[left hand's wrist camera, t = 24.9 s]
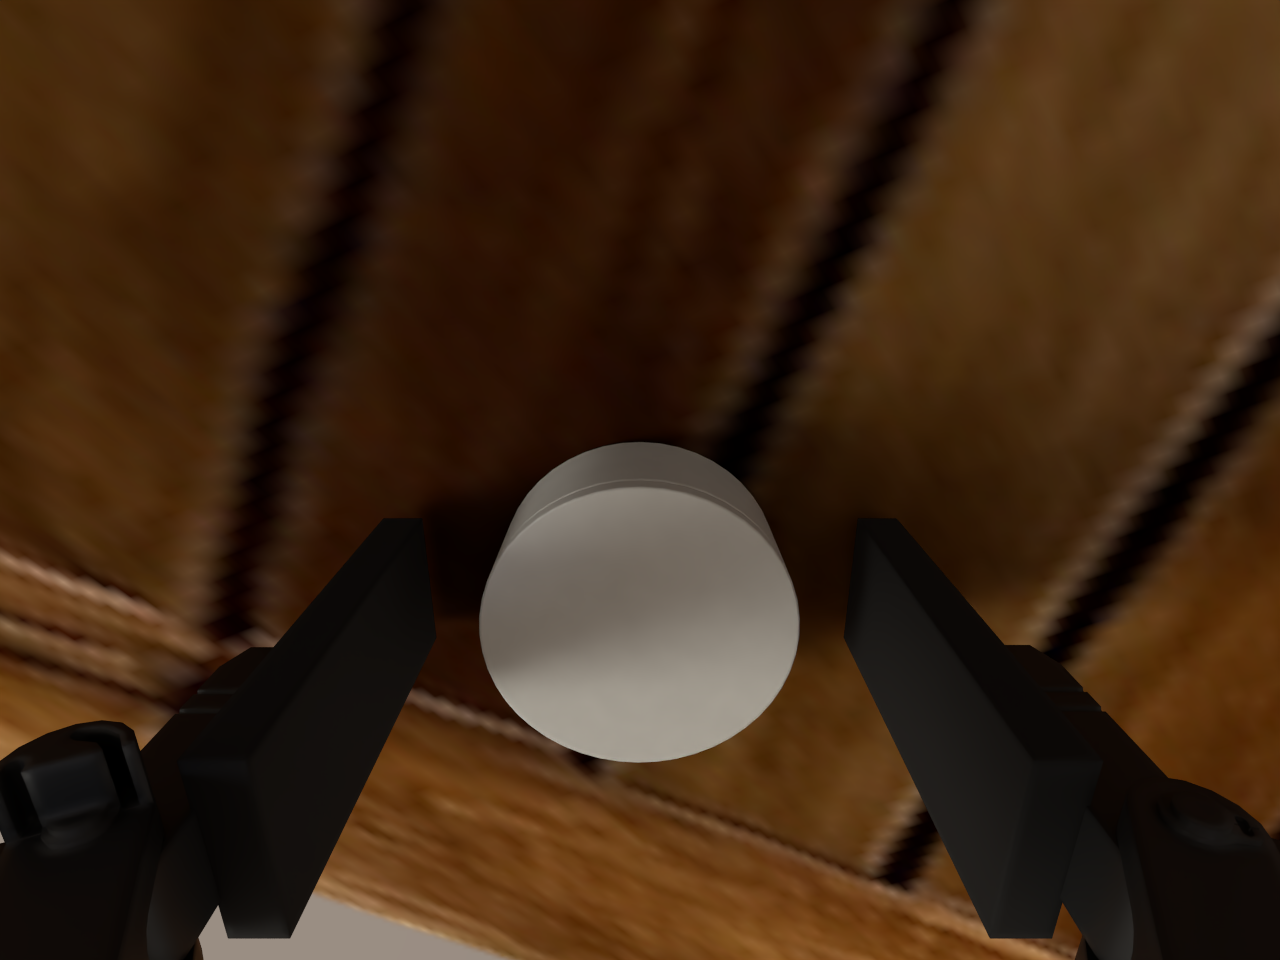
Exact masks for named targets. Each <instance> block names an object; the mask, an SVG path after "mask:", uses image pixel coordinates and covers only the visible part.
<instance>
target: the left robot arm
mask: <svg viewBox="0 0 1280 960" xmlns="http://www.w3.org/2000/svg"><path fill="white" fill-rule="evenodd" d="M435 639H436V631H435V623H434V614H433V606H432V598H431V589H430V581H429V572H428V564H427V555H426V547H425V539H424V530H423V522H422V518H384V519H383V520H382V521H381V522H380V523H379V524H378V526H377V527H376V528H375V529H374V530H373V531H372V533H371V534H370V535H369V536H368V537H367V538H366V540H365V541H364V542H363V543H362V544H361V545H360V547H359V548H358V549H357V550H356V551H355V553H354V554H353V555H352V556H351V557H350V558H349V560H348V561H347V562H346V563H345V564H344V565H343V567H342V568H341V569H340V570H339V571H338V572H337V574H336V575H335V576H334V577H333V578H332V579H331V581H330V582H329V583H328V584H327V585H326V586H325V588H324V589H323V590H322V591H321V592H320V593H319V595H318V596H317V597H316V598H315V599H314V600H313V602H312V603H311V604H310V605H309V606H308V608H307V609H306V610H305V611H304V612H303V613H302V615H301V616H300V617H299V618H298V619H297V620H296V622H295V623H294V624H293V625H292V626H291V627H290V629H289V630H288V631H287V632H286V633H285V634H284V636H283V637H282V638H281V639H280V640H279V641H278V643H277V644H276V645H275V646H274V647H251V648H249V649H247V650H246V651H244V652H243V653H241V654H239V655H238V656H236V657H235V658H233V659H231V660H230V661H228V662H227V663H225V664H223V665H222V666H220V667H219V668H218V669H217V670H216V671H215V672H214V673H213V674H212V675H211V676H210V677H209V679H208V680H207V681H206V682H205V683H204V684H203V685H202V686H201V687H200V688H199V689H198V693H197V695H193V696H192V697H191V698H190V699H189V700H188V701H187V702H186V703H185V704H184V705H183V706H182V707H181V708H180V713H179V714H175V715H174V716H173V717H172V718H171V719H170V720H169V721H168V722H167V723H166V724H165V725H164V727H163V728H162V729H161V730H160V731H159V732H158V733H157V734H156V735H155V736H154V737H153V738H152V739H151V740H150V741H149V743H148V744H147V745H146V746H145V747H144V748H143V749H142V750H141V751H140V749H139V746H138V743H137V739H136V736H135V733H134V730H132V729H131V728H129V727H128V726H126V725H125V724H124V723H121V722H112V721H103V720H101V721H94V722H87V723H80V724H75V725H72V726H69V727H65V728H62V729H59V730H56V731H53V732H50V733H47V734H45V735H43V736H41V737H39V738H37V739H35V740H33V741H31V742H29V743H27V744H25V745H23V746H21V747H19V748H17V749H16V750H14V751H13V752H12V753H10V754H9V755H8V756H6V757H5V758H3V759H2V760H1V761H0V832H1V834H2V837H3V839H4V843H0V960H203V954H202V948H201V945H200V942H199V938H198V937H199V935H200V934H201V932H202V930H203V929H204V927H205V925H206V924H207V922H208V921H209V919H210V917H211V916H212V914H213V912H214V911H215V909H216V908H217V906H218V905H219V909H220V912H221V916H222V919H223V923H224V926H225V929H226V933H227V936H228V938H290V937H291V935H292V933H293V931H294V929H295V927H296V925H297V923H298V921H299V919H300V917H301V915H302V913H303V911H304V909H305V907H306V904H307V902H308V900H309V898H310V896H311V894H312V892H313V890H314V888H315V886H316V884H317V882H318V880H319V878H320V876H321V874H322V872H323V870H324V867H325V865H326V863H327V861H328V859H329V857H330V855H331V853H332V851H333V849H334V847H335V845H336V843H337V841H338V839H339V837H340V835H341V832H342V830H343V828H344V826H345V824H346V822H347V820H348V818H349V816H350V814H351V812H352V810H353V808H354V806H355V804H356V802H357V800H358V798H359V795H360V793H361V791H362V789H363V787H364V785H365V783H366V781H367V779H368V777H369V775H370V773H371V771H372V769H373V767H374V765H375V763H376V760H377V758H378V756H379V754H380V752H381V750H382V748H383V746H384V744H385V742H386V740H387V738H388V736H389V734H390V732H391V730H392V728H393V726H394V723H395V721H396V719H397V717H398V715H399V713H400V711H401V709H402V707H403V705H404V703H405V701H406V699H407V697H408V695H409V693H410V691H411V688H412V686H413V684H414V682H415V680H416V678H417V676H418V674H419V672H420V670H421V668H422V666H423V664H424V662H425V660H426V658H427V656H428V654H429V651H430V649H431V647H432V645H433V643H434V641H435ZM844 639H845V641H846V643H847V645H848V647H849V649H850V651H851V653H852V656H853V658H854V660H855V662H856V664H857V666H858V668H859V670H860V672H861V674H862V676H863V678H864V680H865V682H866V684H867V686H868V688H869V691H870V693H871V695H872V697H873V699H874V701H875V703H876V705H877V707H878V709H879V711H880V713H881V715H882V717H883V719H884V721H885V723H886V726H887V728H888V730H889V732H890V734H891V736H892V738H893V740H894V742H895V744H896V746H897V748H898V750H899V752H900V754H901V756H902V758H903V760H904V763H905V765H906V767H907V769H908V771H909V773H910V775H911V777H912V779H913V781H914V783H915V785H916V787H917V789H918V791H919V793H920V795H921V798H922V800H923V802H924V804H925V806H926V808H927V810H928V812H929V814H930V816H931V818H932V820H933V822H934V824H935V826H936V828H937V830H938V832H939V835H940V837H941V839H942V841H943V843H944V845H945V847H946V849H947V851H948V853H949V855H950V857H951V859H952V861H953V863H954V865H955V867H956V870H957V872H958V874H959V876H960V878H961V880H962V882H963V884H964V886H965V888H966V890H967V892H968V894H969V896H970V898H971V900H972V902H973V905H974V907H975V909H976V911H977V913H978V915H979V917H980V919H981V921H982V923H983V925H984V927H985V929H986V931H987V933H988V935H989V937H990V938H1052V936H1053V933H1054V929H1055V926H1056V923H1057V919H1058V916H1059V912H1060V909H1061V905H1062V902H1063V904H1064V906H1065V907H1066V909H1067V910H1068V912H1069V914H1070V915H1071V917H1072V918H1073V920H1074V922H1075V923H1076V925H1077V927H1078V928H1079V930H1080V931H1081V933H1082V938H1081V942H1080V945H1079V948H1078V951H1077V954H1076V958H1075V960H1280V840H1276V839H1273V838H1271V837H1270V836H1269V835H1268V833H1267V832H1266V830H1265V829H1264V828H1263V826H1262V825H1261V824H1260V823H1259V822H1258V821H1257V820H1255V819H1254V818H1253V817H1252V816H1251V815H1249V814H1248V813H1247V812H1246V811H1245V810H1243V809H1242V808H1241V807H1240V806H1238V805H1237V804H1235V803H1233V802H1231V801H1230V800H1228V799H1226V798H1224V797H1222V796H1221V795H1219V794H1217V793H1215V792H1213V791H1212V790H1209V789H1206V788H1203V787H1200V786H1198V785H1195V784H1192V783H1189V782H1187V781H1183V780H1177V779H1171V778H1168V777H1167V776H1166V775H1165V774H1164V773H1163V772H1162V771H1161V770H1160V769H1159V768H1158V767H1157V766H1156V765H1155V763H1154V762H1153V761H1152V760H1151V759H1150V758H1149V757H1148V756H1147V755H1146V754H1145V753H1144V752H1143V751H1142V750H1141V749H1140V748H1139V747H1138V745H1137V744H1136V743H1135V742H1134V741H1133V740H1132V739H1131V738H1130V737H1129V736H1128V735H1127V734H1126V733H1125V732H1124V731H1123V730H1122V729H1121V727H1120V726H1119V725H1118V724H1117V723H1116V722H1115V721H1114V720H1113V719H1112V718H1111V717H1110V716H1109V715H1108V714H1107V713H1106V712H1102V711H1101V706H1100V705H1099V704H1098V703H1097V702H1096V701H1095V700H1094V699H1093V698H1092V697H1091V696H1090V695H1089V694H1088V692H1083V687H1082V686H1081V685H1080V684H1079V683H1078V682H1077V681H1076V680H1075V679H1074V678H1073V677H1072V676H1071V674H1070V673H1069V672H1068V671H1067V670H1066V669H1065V668H1064V667H1063V666H1062V665H1061V664H1059V663H1058V662H1056V661H1055V660H1053V659H1051V658H1050V657H1048V656H1046V655H1045V654H1043V653H1042V652H1040V651H1038V650H1037V649H1035V648H1034V647H1032V646H1030V645H1004V644H1003V643H1002V641H1001V640H1000V639H999V638H998V637H997V636H996V634H995V633H994V632H993V631H992V630H991V629H990V627H989V626H988V625H987V624H986V623H985V622H984V620H983V619H982V618H981V617H980V616H979V615H978V613H977V612H976V611H975V610H974V609H973V608H972V606H971V605H970V604H969V603H968V602H967V600H966V599H965V598H964V597H963V596H962V595H961V593H960V592H959V591H958V590H957V589H956V588H955V586H954V585H953V584H952V583H951V582H950V581H949V579H948V578H947V577H946V576H945V575H944V574H943V572H942V571H941V570H940V569H939V568H938V567H937V565H936V564H935V563H934V562H933V561H932V560H931V558H930V557H929V556H928V555H927V554H926V553H925V551H924V550H923V549H922V548H921V547H920V545H919V544H918V543H917V542H916V541H915V540H914V538H913V537H912V536H911V535H910V534H909V533H908V531H907V530H906V529H905V528H904V527H903V526H902V524H901V523H900V522H899V521H898V520H897V519H896V518H858V522H857V530H856V539H855V547H854V555H853V564H852V572H851V581H850V589H849V598H848V606H847V614H846V623H845V631H844Z"/></svg>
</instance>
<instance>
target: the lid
mask: <svg viewBox="0 0 1280 960" xmlns="http://www.w3.org/2000/svg"><path fill="white" fill-rule="evenodd" d="M799 630H800V616H799V607H798V600H797V596H796V593H795V589H794V586H793V582H792V580H791V577H790V575H789V573H788V570H787V568H786V565H785V563H784V561H783V558H782V556H781V554H780V551H779V549H778V546H777V544H776V542H775V539H774V537H773V534H772V532H771V530H770V527H769V525H768V523H767V521H766V518H765V516H764V514H763V512H762V510H761V508H760V507H759V505H758V504H757V502H756V500H755V499H754V497H753V496H752V495H751V493H750V492H749V491H748V490H747V489H746V488H745V487H744V485H743V484H742V483H741V482H740V481H739V480H737V479H736V478H735V477H734V476H733V475H732V474H731V473H729V472H728V471H727V470H725V469H724V468H722V467H721V466H719V465H718V464H716V463H715V462H713V461H711V460H709V459H707V458H705V457H703V456H701V455H699V454H697V453H695V452H692V451H689V450H686V449H683V448H680V447H675V446H670V445H665V444H660V443H647V442H632V443H619V444H614V445H608V446H603V447H600V448H596V449H593V450H590V451H587V452H584V453H582V454H580V455H578V456H576V457H573V458H571V459H569V460H567V461H566V462H564V463H563V464H561V465H559V466H558V467H556V468H555V469H553V470H552V471H551V472H549V473H548V474H547V475H546V476H545V477H544V478H542V479H541V480H540V481H539V482H538V483H537V484H536V485H535V486H534V487H533V489H532V490H531V491H530V492H529V493H528V494H527V496H526V497H525V499H524V500H523V502H522V503H521V505H520V506H519V508H518V509H517V511H516V513H515V516H514V518H513V520H512V522H511V524H510V526H509V529H508V531H507V534H506V536H505V539H504V541H503V543H502V546H501V548H500V551H499V553H498V556H497V558H496V560H495V563H494V565H493V568H492V570H491V573H490V575H489V577H488V580H487V583H486V586H485V590H484V593H483V596H482V601H481V608H480V615H479V634H480V641H481V647H482V652H483V656H484V659H485V662H486V665H487V668H488V671H489V673H490V675H491V677H492V679H493V681H494V683H495V685H496V687H497V688H498V690H499V691H500V693H501V694H502V696H503V697H504V699H505V700H506V702H507V703H508V704H509V705H510V706H511V707H512V708H513V709H514V711H515V712H516V713H517V714H518V715H519V716H520V717H521V718H522V719H524V720H525V721H526V722H527V723H528V724H529V725H530V726H531V727H533V728H534V729H536V730H537V731H539V732H540V733H542V734H543V735H544V736H546V737H548V738H549V739H551V740H553V741H555V742H557V743H559V744H561V745H563V746H565V747H567V748H570V749H572V750H575V751H577V752H580V753H583V754H587V755H590V756H594V757H598V758H602V759H608V760H614V761H623V762H657V761H664V760H671V759H677V758H681V757H685V756H688V755H692V754H696V753H698V752H701V751H704V750H706V749H709V748H712V747H714V746H716V745H718V744H720V743H722V742H724V741H726V740H728V739H729V738H731V737H733V736H734V735H736V734H737V733H739V732H740V731H742V730H743V729H745V728H746V727H747V726H748V725H749V724H751V723H752V722H753V721H754V720H755V719H756V718H758V717H759V716H760V715H761V714H762V712H763V711H764V710H765V709H766V708H767V707H768V706H769V705H770V704H771V703H772V701H773V700H774V698H775V697H776V695H777V694H778V693H779V691H780V690H781V688H782V686H783V684H784V682H785V681H786V679H787V677H788V675H789V673H790V670H791V667H792V664H793V661H794V659H795V656H796V652H797V646H798V641H799Z"/></svg>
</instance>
